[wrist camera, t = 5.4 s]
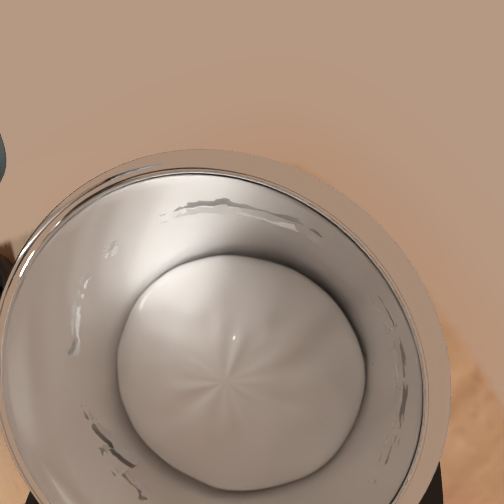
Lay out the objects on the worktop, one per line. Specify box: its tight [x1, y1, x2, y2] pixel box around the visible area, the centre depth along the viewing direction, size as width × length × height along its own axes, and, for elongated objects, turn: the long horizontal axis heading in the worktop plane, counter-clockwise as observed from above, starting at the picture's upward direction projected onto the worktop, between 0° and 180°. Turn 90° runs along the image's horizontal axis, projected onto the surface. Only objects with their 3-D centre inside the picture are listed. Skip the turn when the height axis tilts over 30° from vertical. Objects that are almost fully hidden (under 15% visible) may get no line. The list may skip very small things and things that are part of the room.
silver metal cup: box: [0, 149, 451, 504], centre depth 10 cm, size 7×7×15 cm
